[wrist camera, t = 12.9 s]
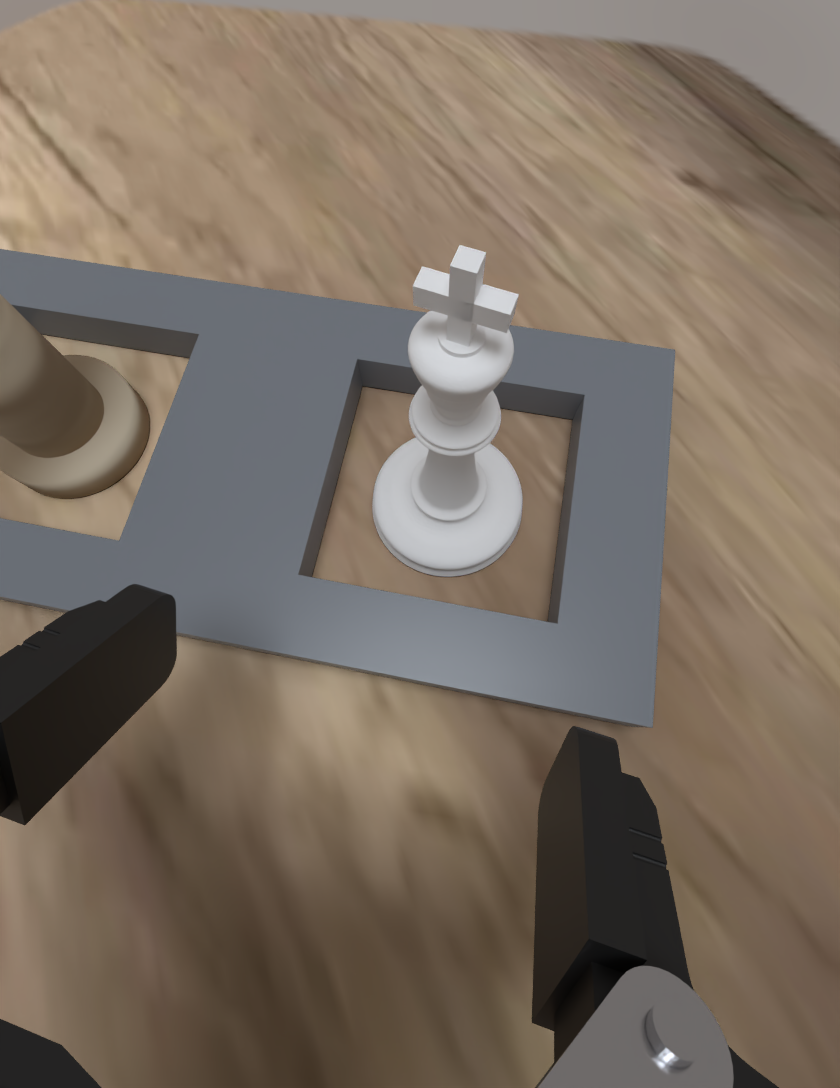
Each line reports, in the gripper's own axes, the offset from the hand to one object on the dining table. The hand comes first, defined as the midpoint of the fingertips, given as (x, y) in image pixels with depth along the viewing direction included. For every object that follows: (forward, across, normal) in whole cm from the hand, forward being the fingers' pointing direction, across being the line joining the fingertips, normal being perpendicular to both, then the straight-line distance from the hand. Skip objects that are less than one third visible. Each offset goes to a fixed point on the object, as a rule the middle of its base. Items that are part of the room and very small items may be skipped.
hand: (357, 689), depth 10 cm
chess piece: (+9, 0, 0) cm, 9 cm away
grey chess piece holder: (+8, +6, 0) cm, 10 cm away
